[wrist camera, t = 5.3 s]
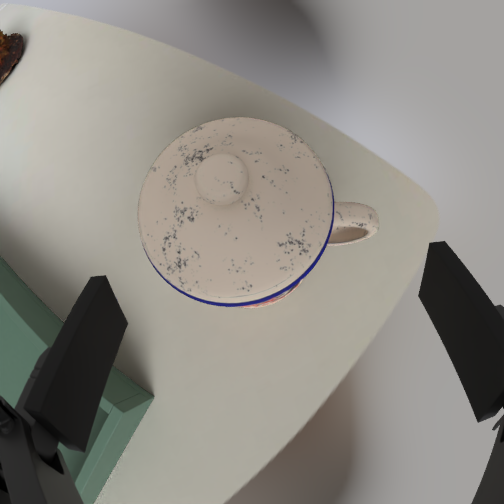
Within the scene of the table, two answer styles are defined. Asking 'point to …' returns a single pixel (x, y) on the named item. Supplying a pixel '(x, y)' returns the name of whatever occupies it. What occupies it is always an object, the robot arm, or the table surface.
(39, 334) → the tray
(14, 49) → the cactus
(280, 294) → the teacup with lid
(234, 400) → the table surface
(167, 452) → the table surface
